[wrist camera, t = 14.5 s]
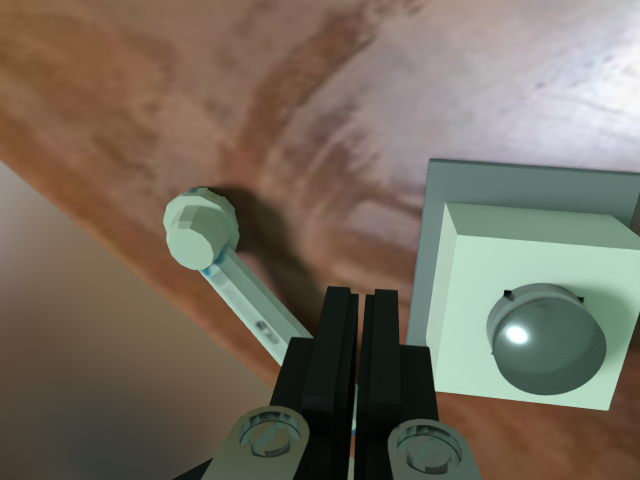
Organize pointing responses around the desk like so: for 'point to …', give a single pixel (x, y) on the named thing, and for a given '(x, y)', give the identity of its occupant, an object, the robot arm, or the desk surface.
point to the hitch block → (522, 265)
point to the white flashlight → (229, 268)
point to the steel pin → (545, 339)
